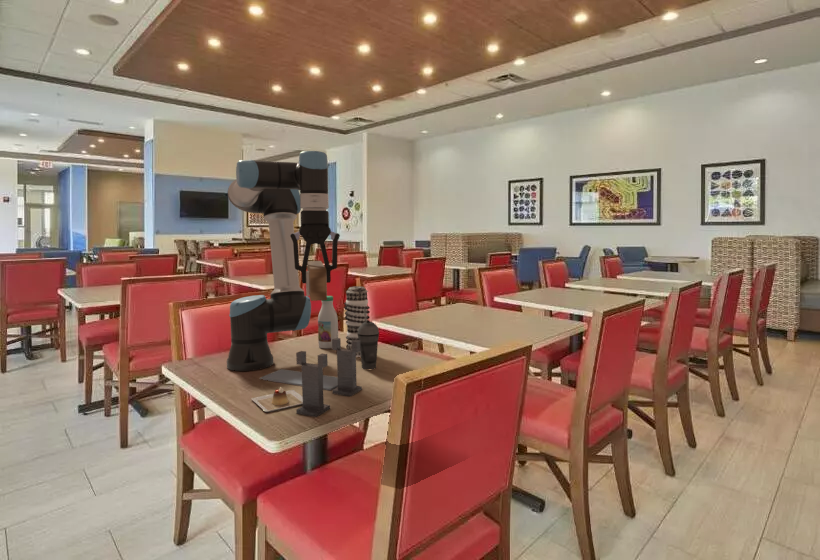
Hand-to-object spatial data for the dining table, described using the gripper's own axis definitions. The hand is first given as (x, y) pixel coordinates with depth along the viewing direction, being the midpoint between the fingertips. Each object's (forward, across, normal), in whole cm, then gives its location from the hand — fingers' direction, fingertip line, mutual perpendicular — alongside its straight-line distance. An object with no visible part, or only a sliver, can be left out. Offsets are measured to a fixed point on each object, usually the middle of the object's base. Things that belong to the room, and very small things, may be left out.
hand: (316, 294), depth 134 cm
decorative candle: (+29, +16, +36) cm, 49 cm away
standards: (+28, +3, -9) cm, 29 cm away
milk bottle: (+29, +7, +52) cm, 60 cm away
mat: (+28, -4, +12) cm, 31 cm away
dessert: (+29, -10, -6) cm, 31 cm away
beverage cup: (+28, +17, +19) cm, 38 cm away
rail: (0, 0, 0) cm, 0 cm away
